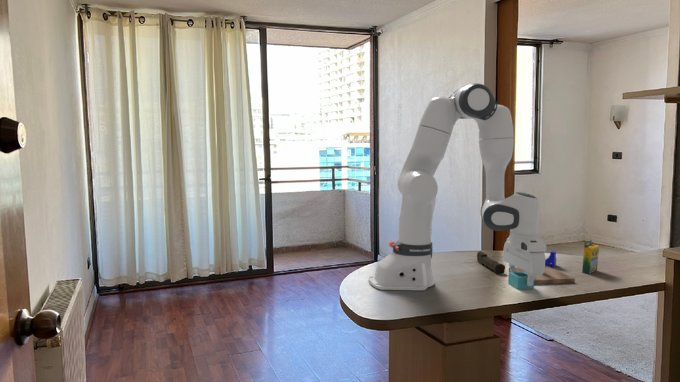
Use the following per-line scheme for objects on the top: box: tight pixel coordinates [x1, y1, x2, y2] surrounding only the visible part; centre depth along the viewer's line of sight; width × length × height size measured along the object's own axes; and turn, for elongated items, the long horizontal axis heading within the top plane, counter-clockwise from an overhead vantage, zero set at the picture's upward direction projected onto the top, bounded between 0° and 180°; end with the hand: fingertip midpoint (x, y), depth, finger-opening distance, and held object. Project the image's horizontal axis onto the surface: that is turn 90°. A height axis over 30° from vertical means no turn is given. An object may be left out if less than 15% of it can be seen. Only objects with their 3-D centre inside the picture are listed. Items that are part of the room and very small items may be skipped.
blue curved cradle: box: [545, 250, 557, 268], centre depth 195 cm, size 12×4×6 cm, turn 56°
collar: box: [507, 271, 535, 290], centre depth 166 cm, size 6×6×4 cm
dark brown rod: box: [476, 251, 506, 275], centre depth 189 cm, size 19×4×5 cm, turn 7°
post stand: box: [508, 252, 576, 285], centre depth 176 cm, size 16×16×10 cm
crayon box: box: [581, 239, 600, 275], centre depth 184 cm, size 7×3×12 cm, turn 132°
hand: (521, 281), depth 166 cm, fingers open, 8 cm apart
